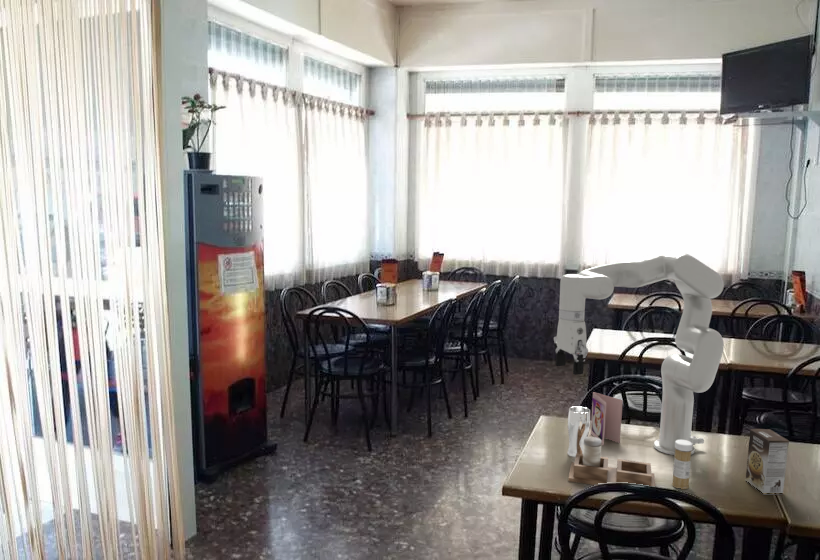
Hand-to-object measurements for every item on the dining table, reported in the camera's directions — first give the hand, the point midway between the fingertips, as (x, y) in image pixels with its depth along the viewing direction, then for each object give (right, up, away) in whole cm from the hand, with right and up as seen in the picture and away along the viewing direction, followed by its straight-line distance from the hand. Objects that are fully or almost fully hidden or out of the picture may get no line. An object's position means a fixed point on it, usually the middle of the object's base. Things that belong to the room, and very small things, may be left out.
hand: (569, 369), depth 206 cm
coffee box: (+53, -33, -12) cm, 64 cm away
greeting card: (+18, -27, +23) cm, 39 cm away
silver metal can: (+5, -29, +9) cm, 30 cm away
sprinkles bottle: (+29, -32, -12) cm, 45 cm away
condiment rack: (+11, -31, -8) cm, 34 cm away
